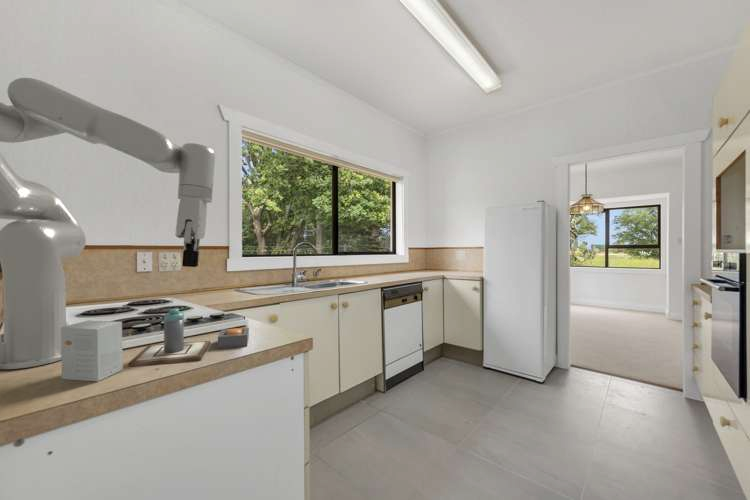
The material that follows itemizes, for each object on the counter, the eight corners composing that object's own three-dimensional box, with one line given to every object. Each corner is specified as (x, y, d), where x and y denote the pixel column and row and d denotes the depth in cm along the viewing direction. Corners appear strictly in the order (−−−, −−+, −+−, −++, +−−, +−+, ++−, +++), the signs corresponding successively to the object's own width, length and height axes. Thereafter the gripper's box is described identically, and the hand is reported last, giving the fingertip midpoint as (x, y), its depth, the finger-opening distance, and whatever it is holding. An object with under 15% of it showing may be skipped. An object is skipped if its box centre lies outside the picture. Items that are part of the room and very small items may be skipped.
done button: (225, 340, 82) (225, 333, 82) (227, 336, 86) (227, 328, 86) (241, 339, 84) (241, 332, 84) (242, 335, 87) (242, 328, 87)
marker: (161, 353, 73) (161, 311, 73) (166, 348, 77) (167, 308, 77) (181, 352, 75) (181, 310, 74) (185, 346, 79) (185, 307, 78)
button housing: (217, 348, 80) (217, 336, 80) (221, 340, 87) (221, 329, 87) (247, 346, 83) (247, 335, 83) (248, 338, 89) (248, 327, 89)
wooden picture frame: (128, 366, 68) (128, 362, 68) (148, 348, 79) (148, 344, 79) (200, 360, 73) (200, 356, 73) (210, 343, 84) (210, 340, 84)
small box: (123, 370, 66) (123, 321, 66) (97, 382, 60) (97, 328, 60) (89, 368, 67) (89, 319, 66) (60, 379, 61) (60, 326, 61)
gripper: (185, 196, 85) (180, 263, 85) (169, 188, 71) (163, 268, 71) (216, 199, 88) (211, 264, 88) (206, 192, 73) (200, 270, 74)
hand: (190, 266), depth 80 cm, fingers closed
